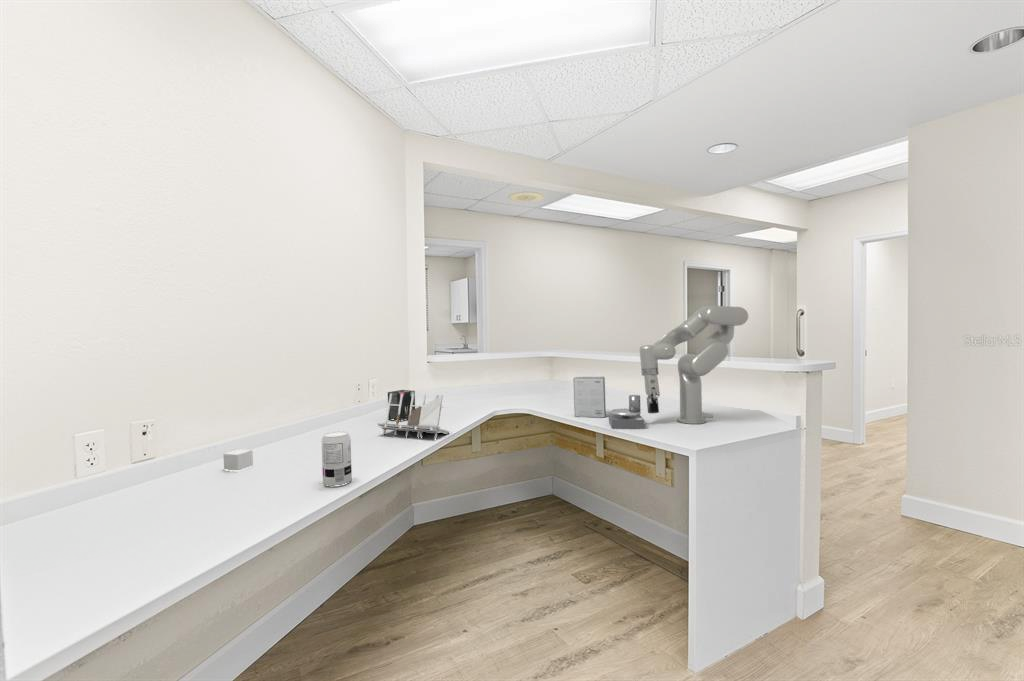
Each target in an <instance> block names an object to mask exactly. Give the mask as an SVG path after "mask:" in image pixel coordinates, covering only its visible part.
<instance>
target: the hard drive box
mask: <svg viewBox="0 0 1024 681" xmlns="http://www.w3.org/2000/svg"><path fill="white" fill-rule="evenodd" d="M605 382H606V378H605V376H574V377H573V402H574V403H573V404H574V407H573V408H574V409H573V410H574V417H575V416H577V418H605V417H606V416H607V409H606V385H605V384H606V383H605Z"/></svg>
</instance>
